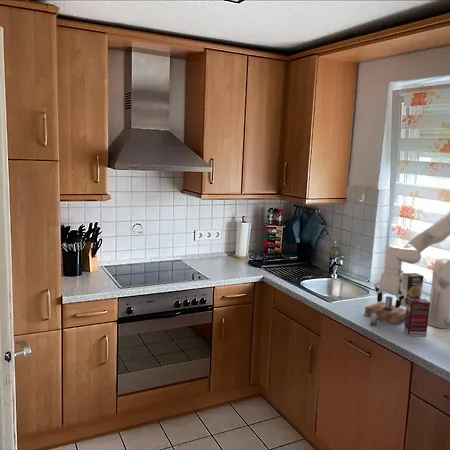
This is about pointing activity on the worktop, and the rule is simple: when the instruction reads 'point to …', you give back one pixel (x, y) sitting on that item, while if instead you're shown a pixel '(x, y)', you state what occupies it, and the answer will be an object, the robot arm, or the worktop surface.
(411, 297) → the coffee box
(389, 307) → the long pin
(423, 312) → the supplement box
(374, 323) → the short pin
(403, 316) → the hole block
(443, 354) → the worktop surface
